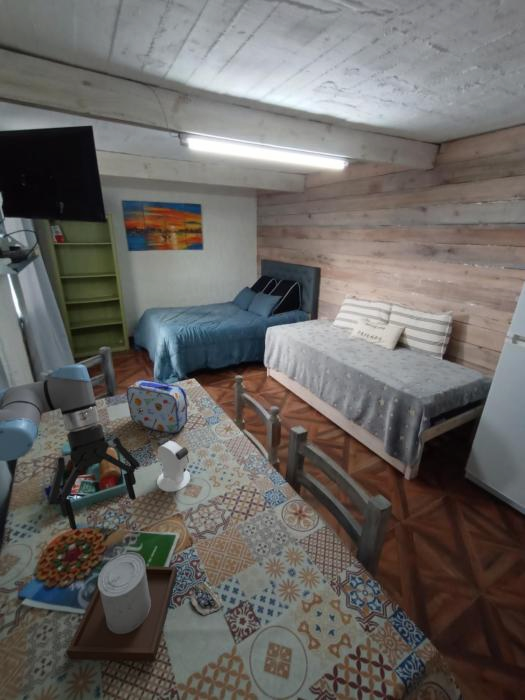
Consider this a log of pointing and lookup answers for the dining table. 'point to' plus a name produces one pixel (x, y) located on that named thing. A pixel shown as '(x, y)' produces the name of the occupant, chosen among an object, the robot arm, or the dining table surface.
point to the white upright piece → (172, 466)
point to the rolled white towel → (124, 592)
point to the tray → (136, 645)
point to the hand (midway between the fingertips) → (105, 512)
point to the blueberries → (205, 598)
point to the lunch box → (158, 405)
